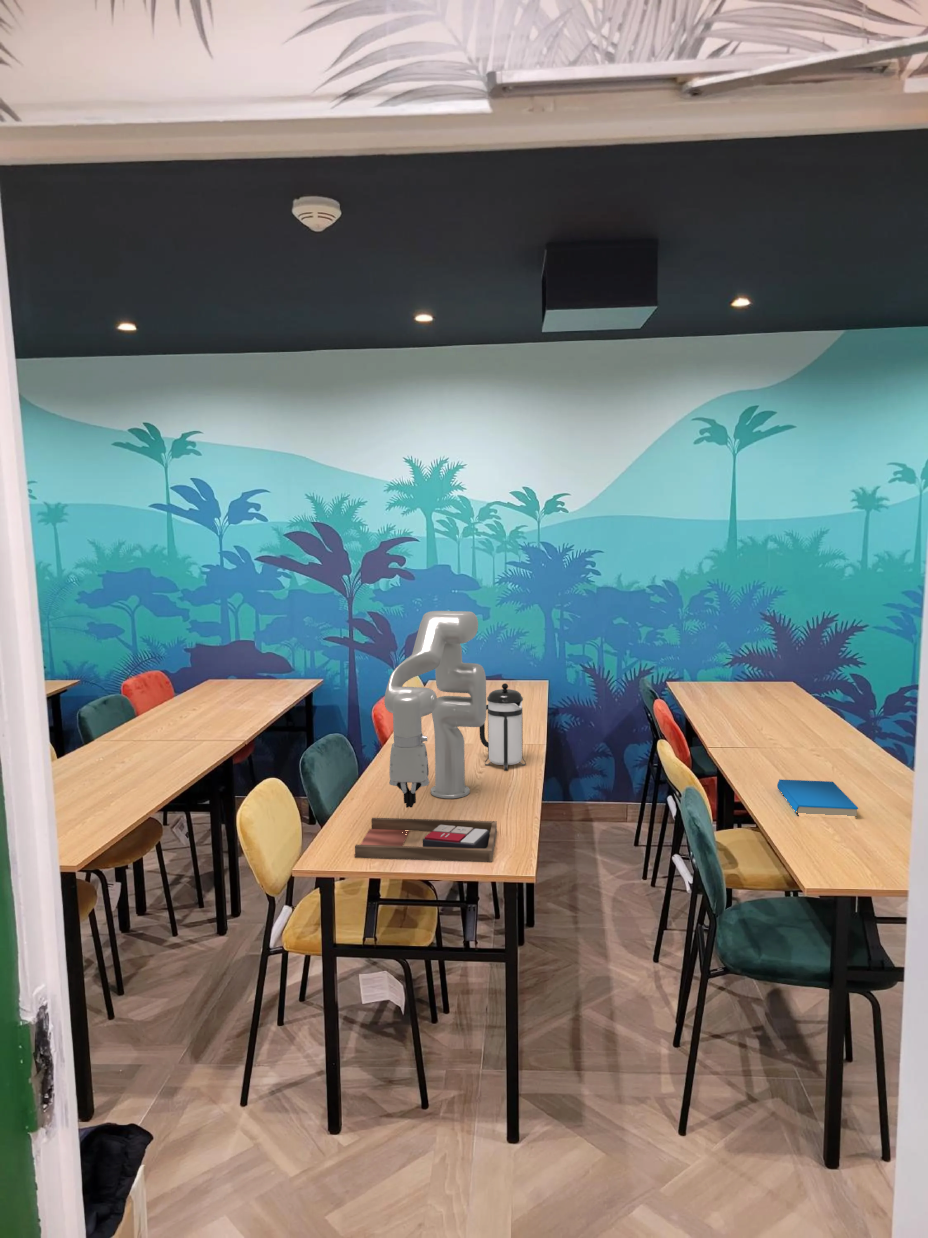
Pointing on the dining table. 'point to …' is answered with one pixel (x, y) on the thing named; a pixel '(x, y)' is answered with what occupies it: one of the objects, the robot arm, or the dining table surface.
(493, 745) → the coffee press
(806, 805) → the book
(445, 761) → the robot arm
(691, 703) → the dining table surface
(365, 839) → the brown wooden tray
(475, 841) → the calculator
